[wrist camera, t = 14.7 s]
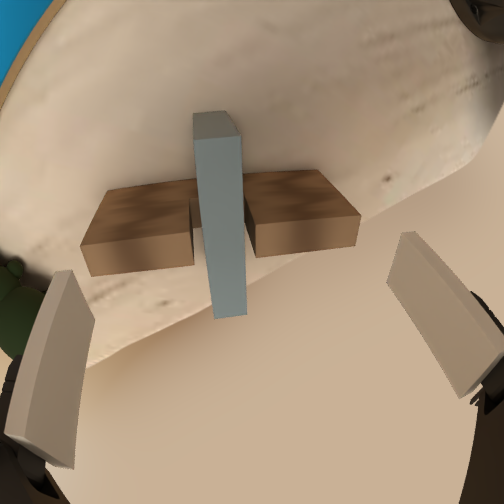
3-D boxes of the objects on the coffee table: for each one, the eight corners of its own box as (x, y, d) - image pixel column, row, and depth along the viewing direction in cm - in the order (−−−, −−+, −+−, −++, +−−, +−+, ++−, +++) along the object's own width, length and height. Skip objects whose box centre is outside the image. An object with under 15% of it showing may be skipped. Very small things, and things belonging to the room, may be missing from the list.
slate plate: (193, 113, 26) (193, 140, 18) (225, 110, 26) (241, 135, 18) (206, 254, 35) (214, 318, 27) (232, 251, 36) (247, 314, 28)
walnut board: (317, 169, 32) (361, 215, 24) (315, 194, 33) (355, 246, 25) (107, 190, 29) (79, 245, 21) (113, 216, 30) (91, 276, 22)
